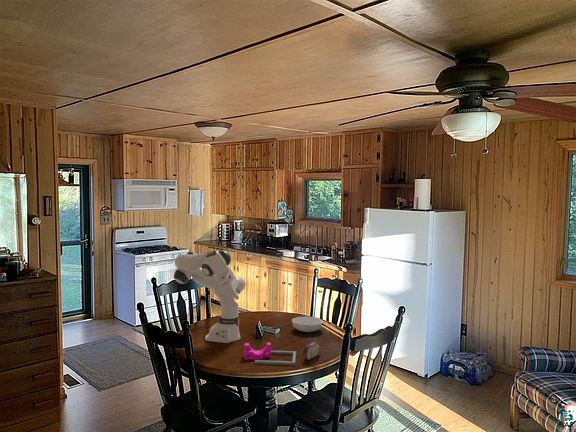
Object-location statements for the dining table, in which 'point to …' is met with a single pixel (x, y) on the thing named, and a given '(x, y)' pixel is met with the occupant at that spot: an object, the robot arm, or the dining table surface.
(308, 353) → the tin
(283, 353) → the frame
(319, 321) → the serving bowl
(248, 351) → the toy block
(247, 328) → the dining table surface
